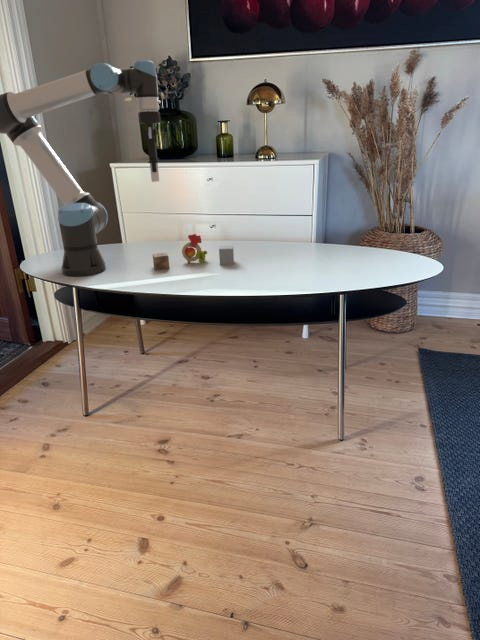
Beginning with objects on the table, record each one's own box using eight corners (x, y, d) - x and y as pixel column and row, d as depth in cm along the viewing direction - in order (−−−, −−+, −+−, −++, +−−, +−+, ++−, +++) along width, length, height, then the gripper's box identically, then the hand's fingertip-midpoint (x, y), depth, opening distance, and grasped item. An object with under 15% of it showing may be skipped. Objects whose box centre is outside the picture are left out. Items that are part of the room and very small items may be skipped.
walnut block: (155, 270, 172) (154, 257, 170) (153, 267, 176) (152, 254, 174) (169, 269, 173) (168, 255, 171) (167, 265, 177) (166, 252, 176)
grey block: (219, 265, 175) (219, 249, 173) (220, 261, 180) (219, 246, 178) (233, 264, 175) (232, 248, 173) (233, 261, 180) (233, 245, 178)
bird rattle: (189, 270, 178) (211, 259, 178) (175, 243, 174) (197, 232, 174) (189, 266, 184) (210, 255, 183) (175, 240, 180) (197, 229, 179)
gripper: (158, 110, 161) (165, 182, 170) (160, 111, 173) (166, 179, 182) (136, 110, 161) (143, 183, 169) (139, 112, 173) (146, 180, 181)
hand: (155, 181), depth 176 cm, fingers closed
